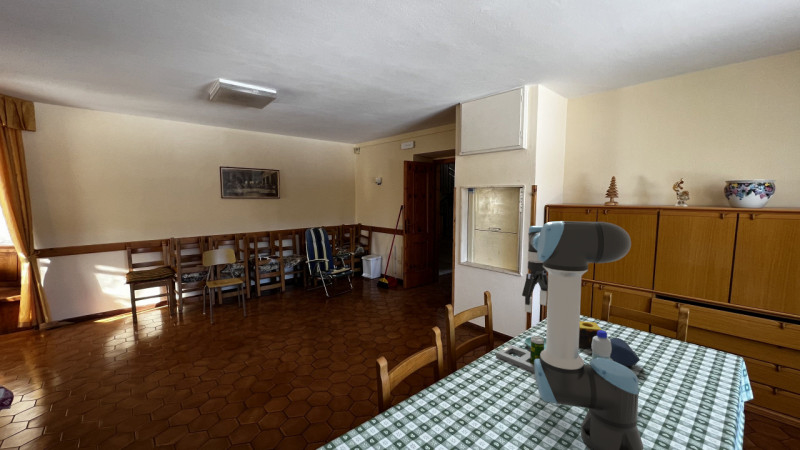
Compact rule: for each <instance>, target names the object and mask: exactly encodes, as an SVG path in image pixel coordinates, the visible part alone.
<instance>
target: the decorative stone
mask: <svg viewBox="0 0 800 450" xmlns="http://www.w3.org/2000/svg"><path fill="white" fill-rule="evenodd" d="M609 339H610V341H611V347H612V350H611V354H610V360H612V361H615V362H617V363H619V364H622V365H624V366H625V367H632V366H634V365H636V364H638V363H639V362H640V360H641V359H640V358H639V356H638V354H637V353H636V352H635V350H633V349H632V347H631V346H630V345H629V343H627V342H626V341H625V340H623V339H622V338H620V337H612V338H609Z"/></svg>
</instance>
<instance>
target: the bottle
mask: <svg viewBox="0 0 800 450" xmlns="http://www.w3.org/2000/svg"><path fill="white" fill-rule="evenodd" d="M610 339H611V338H608V332H606V331H605V330H603V329H601V330H599V331H597V336H594V337H593V340H592V344H591V345H592V349H591V350H592V355H591V360H592V359H595V358H604V359H608V360H611V358H610V354H611V350H612V347H611V341H610Z"/></svg>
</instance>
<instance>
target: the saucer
mask: <svg viewBox="0 0 800 450" xmlns="http://www.w3.org/2000/svg"><path fill="white" fill-rule="evenodd" d="M531 337H532V336H529V337H527V338H525V339H524V342H525V344H526V345H527V347H528V348H530V349H531ZM540 337H541V336H540ZM541 338H543V339H544V350H545V349H546V337H541Z"/></svg>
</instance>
